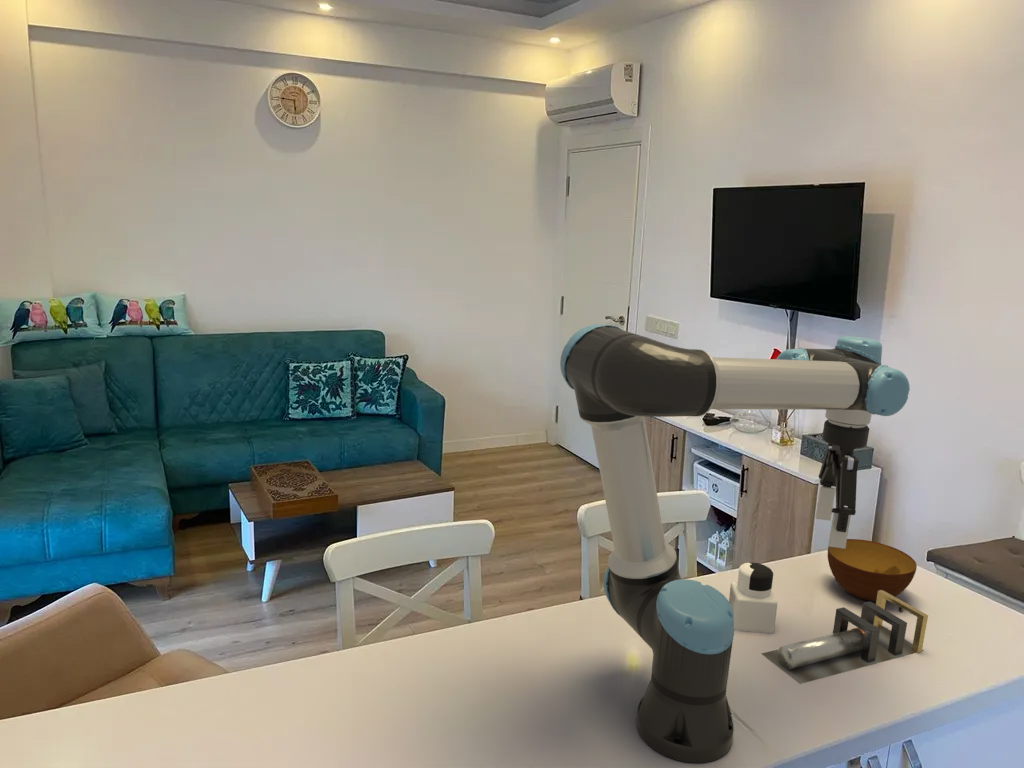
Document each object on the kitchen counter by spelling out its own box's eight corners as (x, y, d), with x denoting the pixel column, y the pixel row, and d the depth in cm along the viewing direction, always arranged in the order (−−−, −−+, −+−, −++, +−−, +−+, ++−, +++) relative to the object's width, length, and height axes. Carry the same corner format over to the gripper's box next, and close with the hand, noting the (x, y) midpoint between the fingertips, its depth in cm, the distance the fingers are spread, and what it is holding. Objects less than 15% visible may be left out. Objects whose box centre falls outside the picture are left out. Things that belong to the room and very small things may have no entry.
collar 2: (894, 655, 141) (899, 624, 140) (858, 632, 149) (862, 603, 147) (902, 653, 142) (907, 622, 141) (865, 630, 150) (870, 601, 148)
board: (799, 689, 131) (799, 684, 131) (760, 658, 140) (760, 653, 140) (923, 655, 144) (924, 650, 143) (880, 629, 152) (880, 624, 152)
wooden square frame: (917, 653, 142) (923, 616, 141) (872, 625, 152) (877, 590, 150) (921, 652, 143) (928, 615, 141) (876, 624, 152) (882, 589, 150)
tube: (792, 674, 134) (796, 655, 133) (776, 660, 138) (779, 641, 137) (873, 653, 142) (877, 634, 141) (856, 640, 146) (860, 621, 144)
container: (764, 617, 155) (771, 560, 152) (773, 638, 148) (781, 577, 145) (726, 614, 156) (733, 557, 153) (733, 634, 148) (740, 574, 146)
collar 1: (867, 662, 139) (872, 631, 137) (831, 639, 146) (836, 608, 145) (875, 660, 139) (880, 629, 138) (839, 637, 147) (844, 607, 146)
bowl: (912, 593, 168) (919, 552, 166) (905, 627, 154) (913, 582, 151) (829, 571, 177) (835, 532, 175) (815, 602, 163) (821, 559, 160)
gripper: (887, 443, 122) (866, 563, 126) (854, 409, 146) (837, 511, 150) (839, 437, 123) (820, 556, 128) (813, 405, 147) (798, 506, 152)
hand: (829, 532), depth 139 cm, fingers open, 13 cm apart
